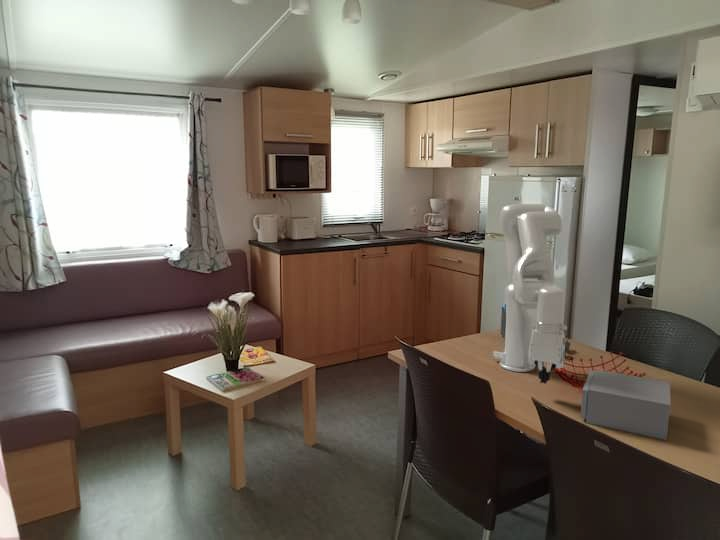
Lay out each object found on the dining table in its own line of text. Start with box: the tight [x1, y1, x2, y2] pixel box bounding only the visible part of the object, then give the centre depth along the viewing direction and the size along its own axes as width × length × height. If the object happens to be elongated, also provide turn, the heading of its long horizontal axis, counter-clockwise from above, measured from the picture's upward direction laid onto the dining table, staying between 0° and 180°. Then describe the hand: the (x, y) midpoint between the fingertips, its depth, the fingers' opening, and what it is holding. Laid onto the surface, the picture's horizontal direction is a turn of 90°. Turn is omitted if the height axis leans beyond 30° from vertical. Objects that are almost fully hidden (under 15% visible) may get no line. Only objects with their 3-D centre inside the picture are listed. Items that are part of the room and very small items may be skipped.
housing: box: [585, 369, 671, 441], centre depth 151 cm, size 20×18×10 cm
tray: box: [579, 370, 595, 420], centre depth 152 cm, size 19×17×8 cm
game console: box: [500, 301, 506, 341], centre depth 221 cm, size 28×6×15 cm, turn 177°
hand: (543, 381), depth 166 cm, fingers closed
